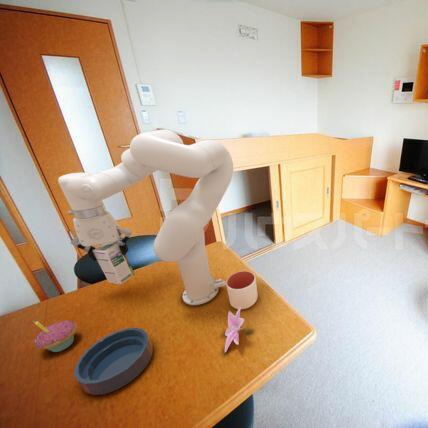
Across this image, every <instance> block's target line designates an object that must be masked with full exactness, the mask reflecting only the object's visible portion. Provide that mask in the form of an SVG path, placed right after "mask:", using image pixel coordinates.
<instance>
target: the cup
mask: <svg viewBox="0 0 428 428" xmlns="http://www.w3.org/2000/svg"><path fill="white" fill-rule="evenodd" d="M225 282H226V286H225V287H226V291H227V296H228V300H229V301H228V302H229V304H230V306H231V307H232V308H234V309H235V310H238V309H239V308H240V307H241V310H246V309H248V308H250V307H253V305H254V304H256V303H257V300H258V297H259V294H258V288H257V287H258V286H257V279H256V275H255V274H254V273H253V272H252V271H249V270H240V271H237V272H234V273H233V274H231V275H229V277H228V278H227V279H226V280H225Z"/></svg>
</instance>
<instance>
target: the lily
mask: <svg viewBox="0 0 428 428" xmlns="http://www.w3.org/2000/svg"><path fill="white" fill-rule="evenodd" d="M241 310H242V309H241V307H240V308H239V309H237V311H236V313H235V315H234V313H232V312H231V310H228V314H227V325H228V327H227V328H226V330H225V332H224V336H226V339H225V343H224V354H225V353H227V351H228V349H229V347H230V345H231V343H232V342H234V343H235V345H237V346H239V342H240V341H239V333H240V331H241V330H244V331H246V332H248V333H251V331H249V330H248V329H246V328H243V327H242V325H243V324H244V322H245V318H242V317H241V316H240V315H241Z"/></svg>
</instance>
